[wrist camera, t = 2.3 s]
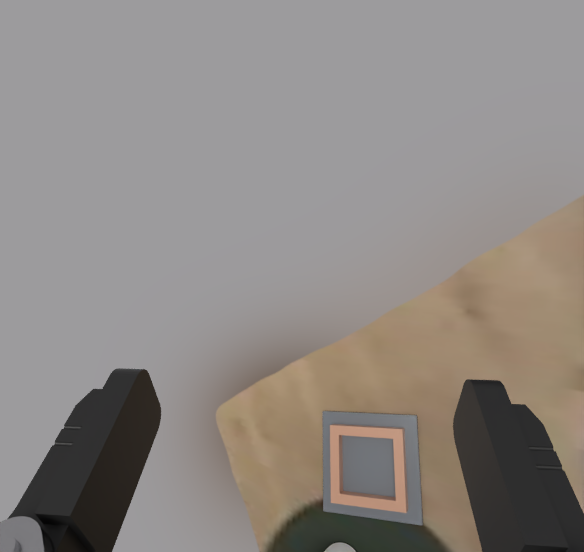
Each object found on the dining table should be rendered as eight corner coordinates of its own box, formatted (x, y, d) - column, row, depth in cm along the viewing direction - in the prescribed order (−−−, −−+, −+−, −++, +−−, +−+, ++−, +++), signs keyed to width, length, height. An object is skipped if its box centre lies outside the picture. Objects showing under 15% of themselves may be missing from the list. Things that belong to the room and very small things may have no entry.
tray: (422, 524, 65) (420, 529, 63) (324, 510, 71) (319, 514, 69) (416, 415, 69) (414, 416, 66) (323, 410, 75) (318, 412, 73)
